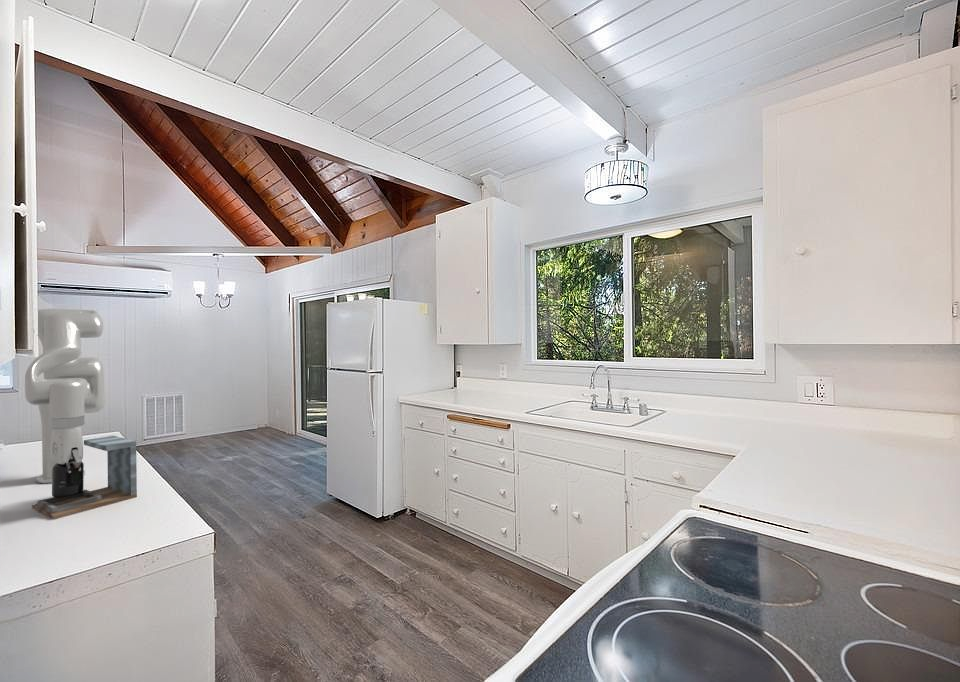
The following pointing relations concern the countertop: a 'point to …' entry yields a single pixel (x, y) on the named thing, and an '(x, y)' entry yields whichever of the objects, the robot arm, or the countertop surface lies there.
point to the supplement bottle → (64, 481)
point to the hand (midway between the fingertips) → (68, 483)
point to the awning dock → (118, 489)
